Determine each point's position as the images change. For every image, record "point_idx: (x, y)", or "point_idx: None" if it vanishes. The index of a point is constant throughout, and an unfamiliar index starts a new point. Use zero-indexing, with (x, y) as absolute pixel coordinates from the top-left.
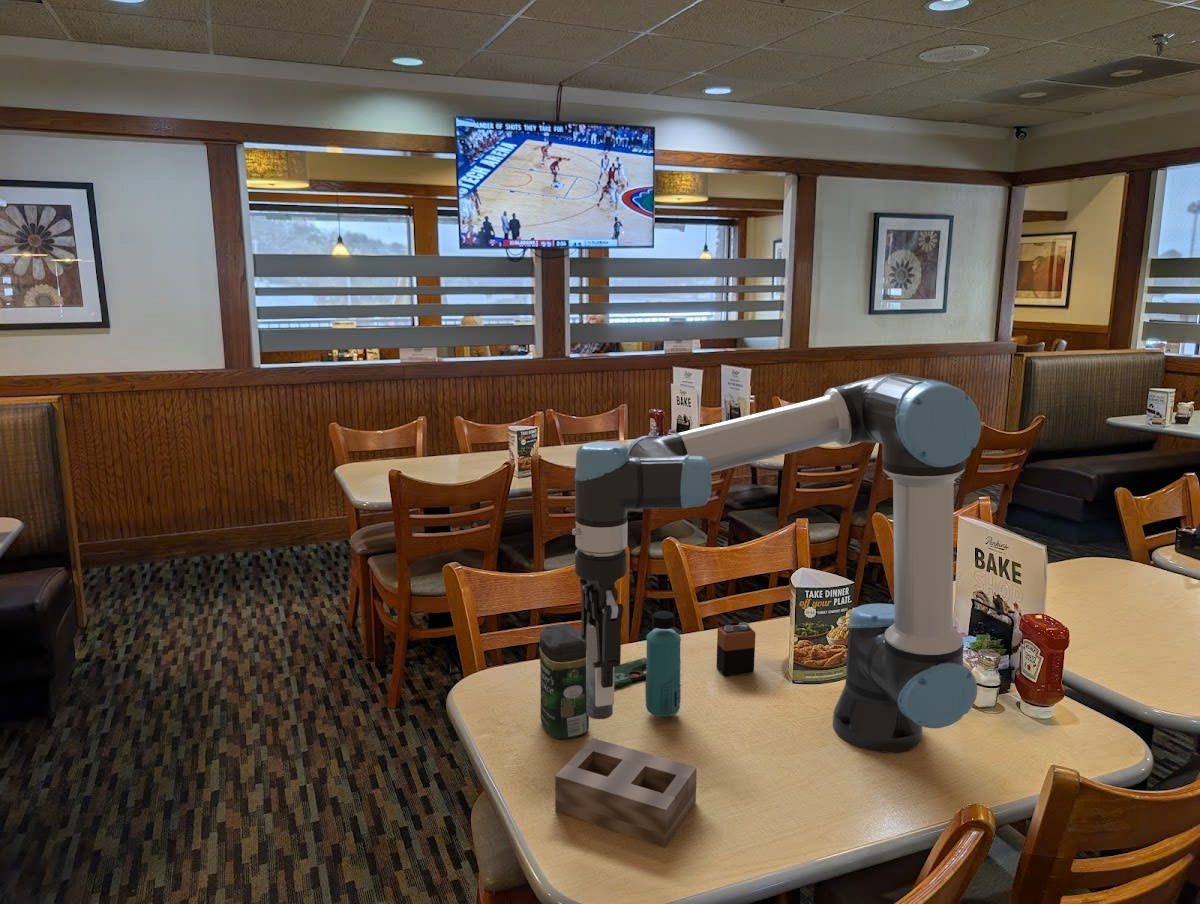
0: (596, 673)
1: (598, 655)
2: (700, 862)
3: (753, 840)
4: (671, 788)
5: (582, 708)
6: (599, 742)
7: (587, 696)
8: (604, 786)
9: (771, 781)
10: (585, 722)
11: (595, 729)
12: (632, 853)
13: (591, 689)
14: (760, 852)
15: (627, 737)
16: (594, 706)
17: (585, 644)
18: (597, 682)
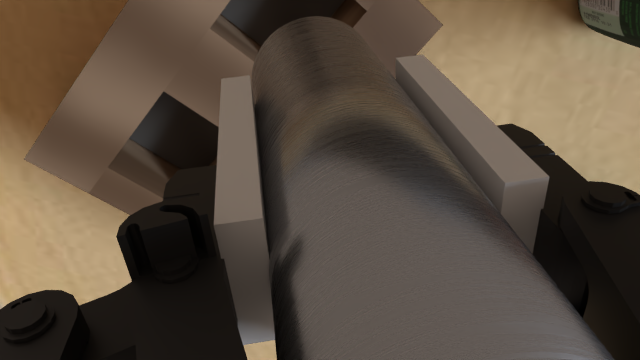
0: (229, 179)
1: (192, 316)
2: (7, 171)
3: (86, 277)
4: (131, 191)
5: (634, 28)
6: (410, 42)
7: (315, 48)
8: (154, 6)
9: (272, 341)
10: (600, 25)
11: (592, 49)
12: (35, 29)
13: (288, 87)
14: (47, 280)
15: (520, 121)
16: (264, 67)
17: (605, 200)
18: (220, 150)
